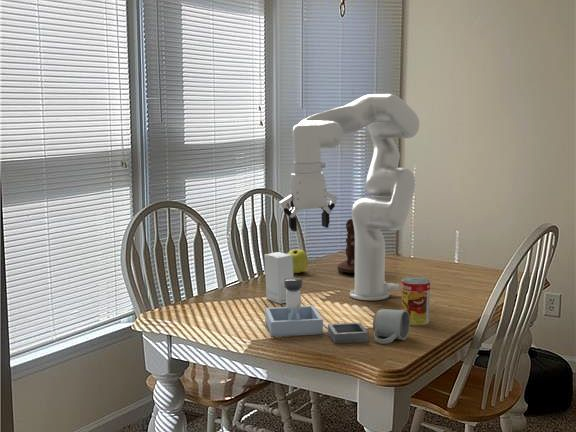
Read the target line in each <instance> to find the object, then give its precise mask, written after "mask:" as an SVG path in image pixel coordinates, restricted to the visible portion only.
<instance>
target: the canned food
mask: <svg viewBox="0 0 576 432" xmlns="http://www.w3.org/2000/svg"><path fill="white" fill-rule="evenodd" d="M430 306H431V280H430V279H429V278H426V277H421V276H407V277H403V278H402V279H401V310H406V311H407V312H408V313H409V317H410V326H424V325H428V324H429V323H430V310H431V309H430Z"/></svg>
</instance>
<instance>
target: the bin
mask: <svg viewBox="0 0 576 432" xmlns="http://www.w3.org/2000/svg"><path fill="white" fill-rule="evenodd" d="M264 310H265V313H264V315H265V316H264V319H265V324H266V328H267V329H268V332H269V334H270V337H289V336H290V337H291V336H292V337H293V336H307V335H324V326H323V325H324V321H323V317H322V316H321V315H320V313H319V312H318V311H319V310H317V308H316V307H315V305H301V320H286V306H280V307H279V306H278V307H277V306H276V307H274V306H273V307H265V308H264Z"/></svg>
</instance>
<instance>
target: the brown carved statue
mask: <svg viewBox="0 0 576 432" xmlns="http://www.w3.org/2000/svg"><path fill="white" fill-rule="evenodd" d="M345 228H346V232H347V233H346V239H345V243H346V247H345V255H346V258H347V259H346V260H344V261H341V262H340V263H338V264H337V272H338V273H341V272H343V273H351V274H355V232H354V225H353V220H352V218H350V219H348V220H347V222H346V224H345Z"/></svg>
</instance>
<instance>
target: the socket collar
mask: <svg viewBox="0 0 576 432" xmlns="http://www.w3.org/2000/svg"><path fill="white" fill-rule="evenodd" d="M327 334H328V335H329V338H330V339H331V340H332V342H333V343H334V344H336V345H337V344H350V343H351V344H352V343H369V341H370V340H369V339H370V338H369V336H370V335H369V331H368V330H367V329H366V327H365V326H364V325H363V324H362V323H361V322H344V323H343V322H342V323H328V324H327Z"/></svg>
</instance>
